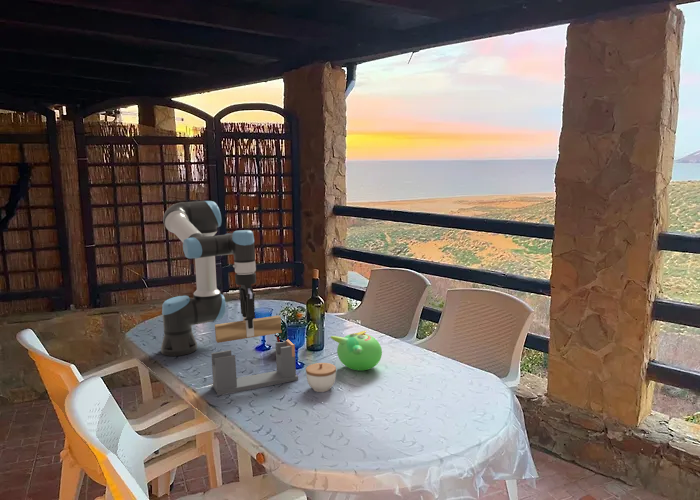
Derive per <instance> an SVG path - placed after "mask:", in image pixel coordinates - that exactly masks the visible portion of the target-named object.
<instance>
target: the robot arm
mask: <svg viewBox="0 0 700 500" xmlns="http://www.w3.org/2000/svg"><path fill="white" fill-rule="evenodd" d="M220 210H221V209H220V207H219V206H218V204H217V203H216V202H215V201H212V200H196V201H195V200H194V201H182V202H181V201H180V202H177V203H174V204H172V205H170V206H168V208H167V209H166V210H165V212H164V214H163V216H162V222H163V225H164V227H165V228H166V230H167V231H168V232H170V233H172V234H174V235H175V236H176V237H177V238H178V239H179V241H181V243H182V249H183V253H184V257H185V258H187V259H194V264H195V265H194V266H195V283H196V290H195V291H194V292H193V297H192V298H190V297H189V295H178V296H174V297H170V298H168V299H166V300H164V302H163V303H162V305H161V307H162V308H161V310H162V311H161V315H162V324H163V337H162V338H163V339H162V342H161V347H160V350H161V351H160V352H161V354H162V355H164V356H167V357H168V356H169V357H177V356H184V355H189V354H192V353H194V352H196V351H197V350H198V343H197V340H196V338H195V336H194V333H193V329H192V327H193V326H195V325H201V324H206V323H214V322H216V321H217V322H218V321H221V320H222V319H223V318H224V316H225V313H226V308H227V303H226V298H225V296H224V294H222V293H221V291H220V290H219V289H218V287H217V286H218V285H217V272H216V271H217V270H216V269H217V267H216V257H218V256H227V255H229V256H230V255H233V262H234V264H233V265H232V267H233V268H234V272H235V274H234V280H235V285H237V286H240V287H239V288H238V292H239V301H240V314H241V315H242V321H244V320H246V336H247V337H251V338H253V337H252V336H254V323H253V319H256V309H255V308H256V307H255V296H256V295H255V293H254V289H253V287H252V285H255V284H256V283H257V273H256V271H257V264H256V255H255V254H256V253H255V252H256V251H255V250H256V249H255V236H254V231H253V230H250V229H244V230H243V229H242V230H235V231H233V232H229V233H228V232H227V233H225V234H220V235H216V234H217V232H218V228H220V227H221V226H222V222H223V221H222V214H221V211H220Z"/></svg>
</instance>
